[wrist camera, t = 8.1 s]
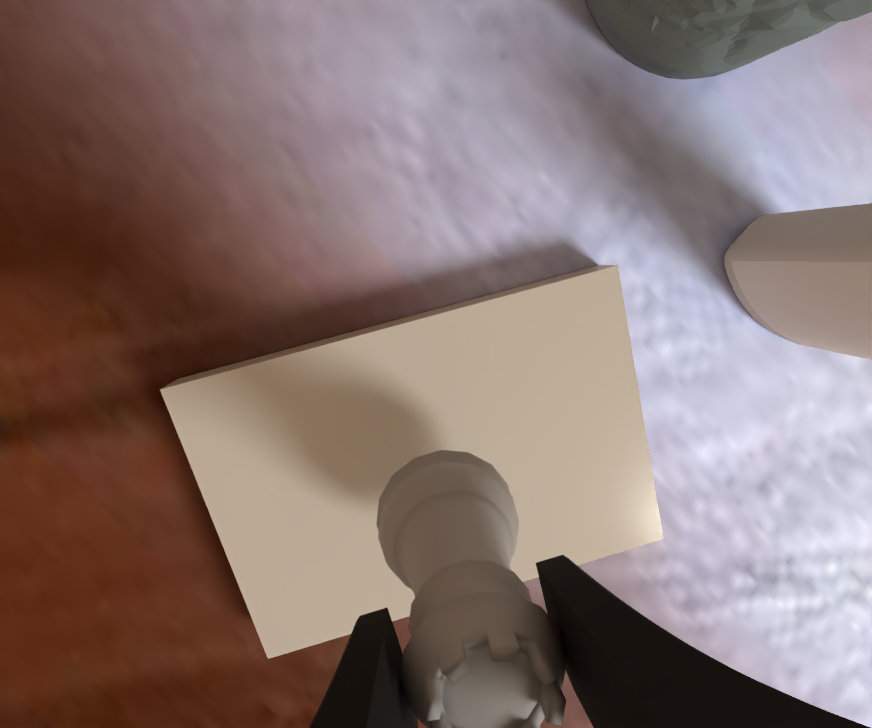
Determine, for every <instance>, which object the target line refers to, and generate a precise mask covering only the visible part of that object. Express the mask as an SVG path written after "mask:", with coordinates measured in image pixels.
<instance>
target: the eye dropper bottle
mask: <svg viewBox="0 0 872 728" xmlns="http://www.w3.org/2000/svg"><path fill="white" fill-rule="evenodd" d="M724 265H725V269H726V273H727V276H728V279H729V281H730V283H731V286H732V288H733V290H734V292H735V294H736V296H737V297H738V299H739V301H740V302H741V304H742V305H743V306H744V308H745V309H746V310H747V311H748V312H749V314H750V315H751V316H752V317H753V318H754V319H755V320H756V321H758V322H759V323H760V324H761V325H762V326H764V327H765V328H766V329H768V330H769V331H771V332H773V333H774V334H776V335H778V336H780V337H782V338H784V339H786V340H789V341H791V342H794V343H797V344H800V345H804V346H808V347H813V348H818V349H822V350H827V351H832V352H837V353H842V354H847V355H851V356H856V357H861V358H866V359H871V360H872V203H871V204H862V205H852V206H843V207H833V208H824V209H815V210H806V211H797V212H788V213H779V214H770V215H763V216H761V217H759V218H757V219H756V220H754V221H753V222H752V223H751V224H750V225H749V226H748V227H747V228H746V229H745V230H744V231H743V233H742V234H741V235H740V236H739V237H738V238H737V239H736V240H735V241H734V242H733V243H732V245H731V246H730V247H729V248H728V250H727V252H726V254H725V256H724Z"/></svg>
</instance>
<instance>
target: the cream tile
mask: <svg viewBox="0 0 872 728" xmlns="http://www.w3.org/2000/svg"><path fill="white" fill-rule="evenodd" d="M160 391H161V394H162V396H163V399H164V401H165V404H166V406H167V409H168V411H169V413H170V416H171V418H172V421H173V423H174V426H175V428H176V431H177V433H178V436H179V438H180V441H181V443H182V446H183V448H184V451H185V453H186V456H187V458H188V461H189V463H190V466H191V468H192V471H193V473H194V476H195V478H196V481H197V483H198V486H199V488H200V491H201V493H202V496H203V498H204V501H205V503H206V506H207V508H208V511H209V513H210V516H211V518H212V521H213V523H214V526H215V528H216V531H217V533H218V535H219V538H220V540H221V543H222V545H223V548H224V550H225V553H226V555H227V558H228V560H229V563H230V565H231V568H232V570H233V573H234V575H235V578H236V580H237V583H238V585H239V588H240V590H241V593H242V595H243V598H244V600H245V603H246V605H247V608H248V610H249V613H250V615H251V618H252V620H253V623H254V625H255V628H256V630H257V633H258V635H259V638H260V640H261V643H262V645H263V648H264V650H265V653H266V655H267V657H268V659H269V658H272V657H276V656H279V655H282V654H286V653H289V652H292V651H295V650H299V649H302V648H305V647H309V646H312V645H315V644H319V643H322V642H325V641H329V640H332V639H335V638H338V637H342V636H345V635H348V634H351V633H352V631H353V628H354V626H355V623H356V621H357V619H358V618H359V616H361V615H364V614H367V613H371V612H374V611H377V610H380V609H384V608H387V607H388V611H389V614H390V617H391V620H392V621H395V620H398V619H401V618H405V617H408V616H410V611H411V604H412V602H413V600H414V598H415V595H414V592H413V591H412V590H411V589H410V588H408V587H406V586H405V585H404V584H403V582H402V581H401V580H400V579H399V578H398V577H397V576H396V575H395V574H394V572H393V571H392V570H391V569H390V568H389V567H388V565H387V563H386V561H385V558H384V555H383V551H382V548H381V545H380V542H379V539H378V533H379V531H378V528H377V525H376V523H377V514H378V505H379V498H380V496H381V494H382V493H383V491H384V489H385V487H386V486H387V484H388V482H389V480H390V479H391V477H392V475H393V474H394V473H396V472H397V471H398V470H399V469H401V468H402V467H403V466H404V465H406V464H407V463H408V462H410V461H411V460H412V459H413V458H415V457H418V456H422V455H425V454H429V453H432V452H435V451H439V450H449V451H460V452H469V453H471V454H473V455H475V456H477V457H478V458H480V459H482V460H484V461H486V462H488V463H490V464H492V465H493V467H494V468H495V469H496V470H497V472H498V473H499V474H500V475H501V477H502V478H503V479H504V480H505V482H506V483H507V484H508V487H509V491H510V494H511V495H512V497H513V501H514V504H515V508H516V512H517V516H518V520H519V530H518V536H517V542H516V549H515V553H514V555H513V557H512V558H511V563H510V567H511V571H513V572H515V574H516V575H517V576H518V577H519V578H520V580H521V581H522V582H524V581H527V580H530V579H534V578H537V577H539V575H538V571H537V567H536V563H537V562H540V561H543V560H547V559H550V558H553V557H557V556H560V555H564V556H566V557H567V558H569V559H570V560H571V561H572V562H574V563H575V564H576V565H580V564H583V563H587V562H590V561H593V560H596V559H600V558H603V557H606V556H610V555H613V554H616V553H620V552H623V551H626V550H630V549H633V548H636V547H639V546H643V545H646V544H649V543H653V542H656V541H659V540H663V533H662V527H661V521H660V515H659V509H658V503H657V497H656V491H655V485H654V479H653V473H652V468H651V462H650V456H649V450H648V444H647V438H646V432H645V426H644V420H643V414H642V408H641V402H640V396H639V390H638V384H637V378H636V372H635V366H634V360H633V354H632V348H631V342H630V336H629V330H628V325H627V319H626V313H625V307H624V301H623V295H622V289H621V283H620V277H619V271H618V265H597V266H593V267H589V268H586V269H582V270H578V271H575V272H571V273H567V274H564V275H560V276H556V277H552V278H549V279H545V280H541V281H538V282H534V283H530V284H527V285H523V286H519V287H516V288H512V289H508V290H504V291H501V292H497V293H493V294H490V295H486V296H482V297H479V298H475V299H471V300H467V301H464V302H460V303H456V304H453V305H449V306H445V307H442V308H438V309H434V310H430V311H427V312H423V313H419V314H416V315H412V316H408V317H405V318H401V319H397V320H394V321H390V322H386V323H382V324H379V325H375V326H371V327H368V328H364V329H360V330H357V331H353V332H349V333H345V334H342V335H338V336H334V337H331V338H327V339H323V340H320V341H316V342H312V343H308V344H305V345H301V346H297V347H294V348H290V349H286V350H283V351H279V352H275V353H272V354H268V355H264V356H260V357H257V358H253V359H249V360H246V361H242V362H238V363H235V364H231V365H227V366H223V367H220V368H216V369H212V370H209V371H205V372H201V373H198V374H194V375H190V376H186V377H183V378H179V379H177V380H175V381H173V382H172V383H170V384H168V385H167V386H165V387H163V388H162V389H160Z"/></svg>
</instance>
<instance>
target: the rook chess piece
mask: <svg viewBox="0 0 872 728" xmlns="http://www.w3.org/2000/svg"><path fill="white" fill-rule="evenodd" d="M376 525H377V528H378V531H379V533H378V539H379V542H380V545H381V548H382V551H383V555H384V558H385V561H386V563H387V565H388V567H389V568H390V569H391V570H392V571H393V572H394V574H395V575H396V576H397V577H398V578H399V579H400V580H401V581H402V582H403V584H404V585H405V586H406V587H408V588H410V589H411V590H412V591H413V592H414V595H415V598H414V600H413V602H412V604H411V611H410V619H409V630H410V633H411V636H412V637H411V639H410V641H409V642H408V644H407V646H406V648H405V649H404V652H403V660H402V668H401V676H400V681H401V684H402V687H403V691H404V694H405V697H406V700H407V703H408V706H409V709H410V710H411V712H412V713H413V714H414V715H415V716H416V717H417V718H418V719H419V720H420V721H421V722H422V723H423V724H424V725H425V726H426V727H427V728H540V724H541V723H542V721H543V720H544V718H545V719H546V722H548V723H552V724H557V725H562V720H563V715H564V709H565V703H566V700H565V697H564V695H563V693H562V690H561V689H562V686H563V680H564V675H565V669H566V663H567V656H566V652H565V648H564V644H563V640H562V636H561V632H560V629H559V628H558V626H557V625H556V624H555V623H554V622H553V620H552V619H551V618H550V617H549V616H548V615H547V613H546V612H545V611H544V610H543V609H542V607H540V606H538V605H536V604H534V603H532V601H531V597H530V593H529V589H528V588H527V587H526V586H525V584H524V583H523V582H522V581H521V580H520V578H519V577H518V576H517V575H516V574H515V572H513V571H511V567H510V563H511V558H512V557H513V555H514V553H515V549H516V542H517V536H518V530H519V520H518V516H517V512H516V508H515V504H514V501H513V497H512V495H511V494H510V491H509V487H508V484H507V483H506V482H505V480H504V479H503V478H502V477H501V475H500V474H499V473H498V472H497V470H496V469H495V468H494V467H493V465H492V464H490V463H488V462H486V461H484V460H482V459H480V458H478V457H477V456H475V455H473V454H471V453H469V452H460V451H449V450H439V451H435V452H432V453H429V454H425V455H422V456H418V457H415V458H413V459H412V460H411V461H410V462H408V463H407V464H406V465H404V466H403V467H402V468H401V469H399V470H398V471H397V472H396V473H394V474H393V475H392V477H391V479H390V480H389V482H388V484H387V486H386V487H385V489H384V491H383V493H382V494H381V496H380V498H379V505H378V514H377V523H376Z"/></svg>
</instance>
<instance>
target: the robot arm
mask: <svg viewBox="0 0 872 728" xmlns="http://www.w3.org/2000/svg"><path fill="white" fill-rule="evenodd" d="M536 567H537V571H538V575H539V579H540V584H541V588H542V592H543V596H544V600H545V605H546V609H547V613H548V616H549V617H550V618H551V619H552V620H553V622H554V623H555V624H556V625H557V626H558V628H559V629H560V632H561V636H562V640H563V644H564V648H565V652H566V656H567V663H566V672H567V674H568V676H569V679H570V681H571V684H572V686H573V689H574V691H575V693H576V695H577V697H578V698H579V700H580V702H581V704H582V706H583V708H584V710H585V712H586V714H587V716H588V718H589V720H590V721H591V723H592V725H593V727H594V728H870V727H867V726H864V725H862V724H859V723H856V722H854V721H851V720H848V719H846V718H843V717H841V716H838V715H835V714H833V713H830V712H827V711H825V710H823V709H820V708H818V707H815V706H813V705H810V704H808V703H805V702H803V701H801V700H799V699H796V698H794V697H792V696H790V695H788V694H785V693H783V692H781V691H779V690H776V689H774V688H772V687H770V686H767V685H765V684H763V683H761V682H758V681H756V680H754V679H752V678H750V677H748V676H746V675H744V674H742V673H740V672H738V671H736V670H734V669H732V668H730V667H728V666H726V665H724V664H722V663H721V662H719V661H717V660H715V659H713V658H711V657H709V656H708V655H706V654H704V653H702V652H701V651H699V650H697V649H695V648H694V647H692V646H690V645H689V644H687V643H685V642H683V641H682V640H680V639H678V638H677V637H675V636H674V635H672V634H671V633H669V632H667V631H666V630H664V629H663V628H661V627H660V626H658V625H656V624H655V623H653V622H652V621H650V620H649V619H647V618H646V617H644V616H643V615H641V614H640V613H639V612H637V611H636V610H634V609H633V608H632V607H630V606H629V605H627V604H626V603H625V602H623V601H622V600H620V599H619V598H618V597H616V596H615V595H614V594H612V593H611V592H610V591H608V590H607V589H606V588H604V587H603V586H602V585H600V584H599V583H598V582H597V581H595V580H594V579H593V578H592V577H590V576H589V575H588V574H587V573H585V572H584V571H583V570H582V569H581V568H579V567H578V566H577V565H576V564H575V563H574V562H572V561H571V560H570V559H569V558H567V557H566V556H564V555H560V556H557V557H553V558H550V559H547V560H543V561H540V562H537V563H536ZM402 660H403V654H402V651H401V647H400V644H399V641H398V638H397V635H396V632H395V629H394V626H393V623H392V620H391V617H390V614H389V611H388V607H387V608H384V609H380V610H377V611H374V612H371V613H367V614H364V615H361V616H359V618H358V619H357V621H356V623H355V626H354V628H353V631H352V633H351V636H350V638H349V641H348V643H347V646H346V648H345V651H344V653H343V656H342V658H341V660H340V663H339V665H338V667H337V670H336V672H335V674H334V677H333V679H332V681H331V683H330V685H329V688H328V690H327V692H326V694H325V696H324V699H323V701H322V703H321V705H320V707H319V709H318V711H317V713H316V715H315V717H314V719H313V721H312V723H311V725H310V727H309V728H418V722H417V717H416V716H415V715H414V714H413V713H412V712H411V710H410V709H409V706H408V703H407V700H406V697H405V694H404V691H403V687H402V684H401V681H400V676H401V668H402Z"/></svg>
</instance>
